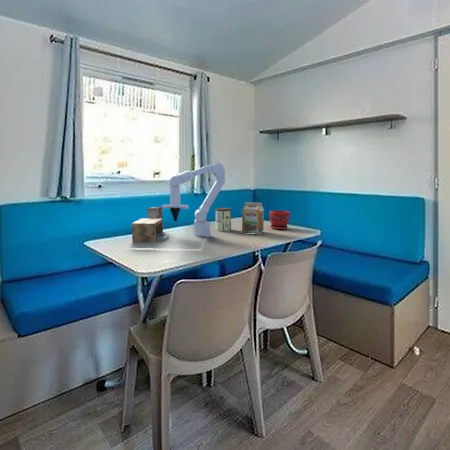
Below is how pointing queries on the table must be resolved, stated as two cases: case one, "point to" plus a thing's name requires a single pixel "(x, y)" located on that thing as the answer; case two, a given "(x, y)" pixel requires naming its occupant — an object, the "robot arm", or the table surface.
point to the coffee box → (155, 213)
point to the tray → (161, 237)
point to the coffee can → (223, 219)
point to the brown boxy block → (146, 230)
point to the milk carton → (252, 218)
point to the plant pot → (279, 219)
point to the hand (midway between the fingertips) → (175, 221)
